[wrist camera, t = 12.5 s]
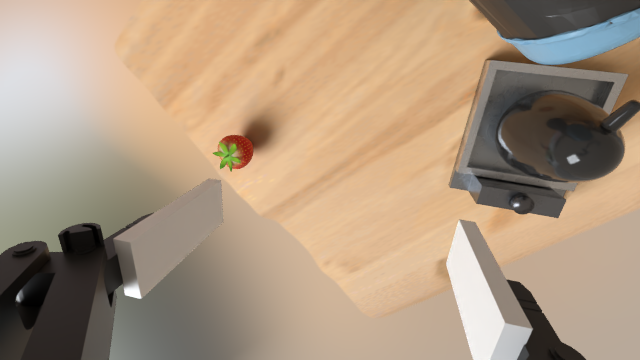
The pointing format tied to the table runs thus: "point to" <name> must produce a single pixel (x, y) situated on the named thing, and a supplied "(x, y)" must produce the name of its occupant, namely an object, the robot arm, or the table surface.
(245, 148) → the fruit
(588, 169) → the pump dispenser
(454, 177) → the tray unit
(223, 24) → the table surface
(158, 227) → the robot arm
